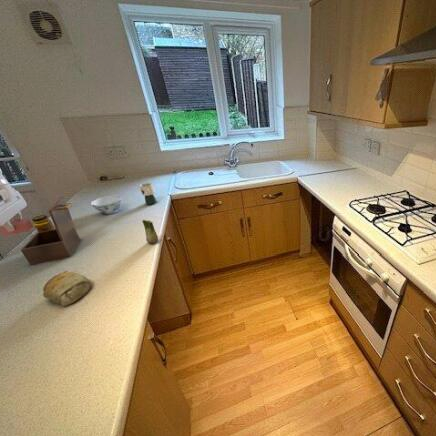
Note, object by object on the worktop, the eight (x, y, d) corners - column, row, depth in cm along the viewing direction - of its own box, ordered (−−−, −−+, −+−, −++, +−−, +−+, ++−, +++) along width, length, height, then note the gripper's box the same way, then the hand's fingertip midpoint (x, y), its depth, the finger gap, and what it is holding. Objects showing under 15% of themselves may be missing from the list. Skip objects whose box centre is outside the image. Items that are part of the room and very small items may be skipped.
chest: (30, 265, 101) (20, 249, 98) (45, 246, 114) (36, 232, 110) (70, 256, 106) (62, 241, 103) (80, 239, 119) (73, 225, 115)
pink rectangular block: (3, 235, 90) (-2, 227, 88) (10, 230, 93) (4, 222, 92) (28, 231, 92) (23, 223, 91) (33, 226, 96) (28, 218, 94)
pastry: (56, 286, 90) (46, 269, 86) (96, 276, 94) (88, 260, 91) (39, 313, 78) (26, 296, 75) (85, 301, 83) (75, 284, 79)
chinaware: (118, 204, 156) (114, 193, 153) (129, 210, 149) (125, 198, 145) (92, 213, 145) (86, 201, 142) (102, 219, 138) (97, 207, 134)
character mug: (144, 202, 160) (138, 183, 154) (155, 199, 163) (150, 181, 157) (146, 207, 152) (140, 188, 146) (159, 204, 156) (153, 185, 150)
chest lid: (48, 210, 96) (62, 209, 98) (61, 197, 109) (73, 196, 111) (60, 241, 102) (73, 239, 104) (72, 225, 115) (83, 223, 117)
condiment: (40, 243, 116) (27, 221, 111) (44, 235, 123) (32, 214, 117) (59, 238, 120) (47, 217, 114) (63, 231, 126) (52, 211, 121)
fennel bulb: (160, 242, 115) (153, 220, 110) (149, 246, 113) (141, 224, 107) (157, 238, 119) (150, 216, 114) (146, 241, 116) (138, 220, 111)
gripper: (0, 185, 93) (19, 217, 99) (-37, 205, 76) (-11, 241, 83) (21, 183, 95) (38, 214, 102) (-10, 202, 79) (13, 237, 85)
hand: (16, 227), depth 92 cm, fingers closed on pink rectangular block, 4 cm apart
